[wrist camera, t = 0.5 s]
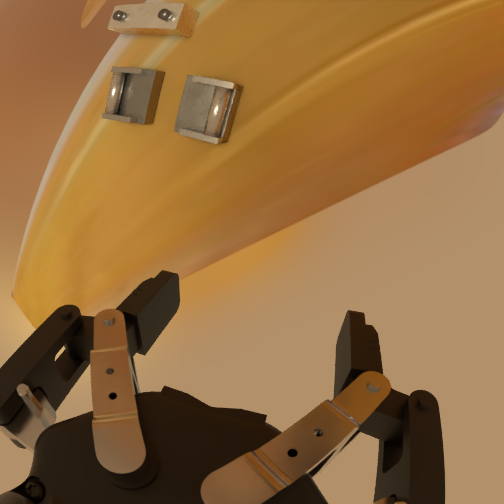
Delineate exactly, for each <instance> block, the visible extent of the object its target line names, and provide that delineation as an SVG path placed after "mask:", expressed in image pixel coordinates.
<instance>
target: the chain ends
mask: <svg viewBox="0 0 504 504" xmlns="http://www.w3.org/2000/svg"><path fill="white" fill-rule="evenodd" d="M111 72H113V75H112V79H111V84H110V88H109V93H108V98H107V103H106V109H105V113H103V114H102V118H105V119H111V120H116V121H121V122H126V123H140V124H153V122H154V117H155V112H156V108H157V104H158V99H159V95H160V91H161V87H162V83H163V79H164V75H165V72H161V71H156V70H147V69H141V68H129V67H112V71H111ZM242 88H243V86H240V85H238V84H235V83H232V82H227V81H222V80H217V79H212V78H207V77H201V76H195V75H193V76H192V75H188V76H187V80H186V83H185V87H184V91H183V95H182V99H181V103H180V107H179V111H178V115H177V119H176V124H175V128H174V131H176V132H179V133H178V134H180V135H184V136H188V137H192V138H195V139H199V140H203V141H207V142H210V143H214V144H221V143H225V142H227V141H228V138H229V134H230V130H231V127H232V123H233V120H234V116H235V112H236V109H237V106H238V102H239V99H240V95H241V92H242Z"/></svg>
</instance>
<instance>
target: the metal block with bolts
mask: <svg viewBox="0 0 504 504" xmlns="http://www.w3.org/2000/svg"><path fill="white" fill-rule="evenodd" d="M198 15H199V13H198V12H196V11H195V10H193V9H192V8H191V7H189V6H188V5H186V4H185V3H149V4H130V5H119V6H115V8H114V11H113V13H112V16H111V19H110V22H109V25H108V29H110V30H113V31H117V32H121V33H124V34H155V35H173V36H185V37H191V36H192V33H193V30H194V27H195V24H196V21H197V18H198Z"/></svg>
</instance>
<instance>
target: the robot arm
mask: <svg viewBox="0 0 504 504" xmlns="http://www.w3.org/2000/svg"><path fill="white" fill-rule="evenodd" d="M179 303H180V292H179V276H178V274H177V273H172V272H168V271H164V270H163V271H161V272H160V273H159V274H158V275H157V276H156V277H155V278H150V279H148V280H145V281H143V282H142V283H141V284H140V285H139V286H138V287H137V288H136V289H135V290H134V291H133V292H132V294H130V295H129V296H128V297H127V298H126V299H125V300H124V301H123V302H122V303H121V304H120V305H119V306H118V307H117V308H116V309H106V310H103V311H101V312H99V313H98V314H97V315H96V316H95V317H91V316H82V315H81V313H80V310H79V308H78V307H77V306H75V305H64V306H61V307H59V308H58V309H57V310H56V311H54V312H53V313H52V314H51V315H50V316H49V317H48V318H47V319H46V320H45V321H44V322H43V323H42V324H41V325H40V326H39V327H38V328H37V329H36V331H34V333H33V334H32V335H31V336H30V337H29V338H28V339H27V340H26V341H25V342H24V343H23V344H22V345H21V347H19V348H18V349H17V351H16V352H15V353H14V354H13V355H12V356H11V357H10V358H9V359H8V360H7V361H6V363H5V364H4V365H3V366H2V367H1V368H0V430H1V431H2V432H3V433H4V434H5V436H7V437H8V438H9V439H10V440H11V441H12V442H13V443H14V444H15V445H17V446H18V447H20V448H24V449H26V448H27V449H29V450H30V451H31V452H33V453H34V458H33V464H32V467H31V471H30V474H29V476H28V478H27V479H26V480H25V481H24V482H23V483H22V484H21V485H19V486H18V487H16V488H14V489H12V490H10V491H8V492H5V493H3V494H1V495H0V504H328V502H327V501H326V499H325V498H324V496H323V495H322V493H321V492H320V490H319V489H318V487H317V485H316V484H315V482H314V481H313V479H312V478H314V477H315V476H316V475H317V474H318V473H320V472H321V471H322V470H323V469H324V468H325V467H326V466H327V465H328V464H329V463H330V462H331V461H332V460H333V459H334V458H335V457H336V456H337V455H338V454H339V453H340V452H342V451H343V450H344V449H345V448H346V447H347V446H348V445H349V444H350V443H351V442H352V441H353V440H354V439H355V438H356V437H357V436H358V435H359V434H360V433H361V432H362V433H365V434H367V435H370V436H372V437H375V438H377V439H379V453H378V466H377V477H376V487H375V494H374V502H373V504H445V469H444V452H443V439H442V430H441V421H440V413H439V406H438V402H437V400H436V398H435V397H434V396H433V395H432V394H431V393H429V392H427V391H425V390H416V391H414V392H412V393H411V394H410V396H408V395H406V394H403V393H401V392H398V391H396V390H394V389H392V388H391V385H390V382H389V380H388V379H387V378H386V377H385V376H384V375H383V369H382V361H381V353H380V345H379V338H378V333H377V332H376V330H375V329H374V327H373V326H372V325H366V324H365V315H364V313H362V312H356V311H350V310H348V311H347V313H346V316H345V319H344V322H343V325H342V327H341V331H340V333H339V336H338V340H337V344H336V363H335V384H334V399H333V400H331V401H329V400H325V401H324V402H322V403H321V404H320V405H318V406H317V407H316V408H315V409H313V410H312V411H311V412H310V413H308V414H307V415H306V416H304V417H303V418H302V419H300V420H299V421H298V422H296V423H295V424H294V425H292V426H291V427H290V428H288V429H287V430H285V431H284V432H283V433H282V432H281V431H279V430H278V429H277V428H275V427H273V426H272V425H270V424H268V423H266V422H265V421H266V417H267V415H264V414H259V413H255V412H251V411H247V410H243V409H233V408H216V407H211V406H208V405H207V404H205V403H203V402H201V401H200V400H198V399H196V398H194V397H193V396H191V395H189V394H187V393H184V392H182V391H179V390H176V389H173V388H170V387H167V386H164V387H163V389H162V391H161V392H143V393H140V389H139V384H138V379H137V374H136V368H135V362H134V358H133V356H134V355H135V353H136V352H137V353H139V354H142V355H146V353H147V352H148V350H149V349H150V348H151V346H152V345H153V344H154V342H155V341H156V339H157V338H158V337H159V335H160V334H161V333H162V331H163V330H164V328H165V327H166V326H167V324H168V323H169V321H170V320H171V319H172V317H173V316H174V315H175V313H176V312H177V310H178V308H179ZM63 346H64V347H65V350H64V352H63V353H62V354H61V355H60V356H59V357H58V359H57V360H56V361H55V356H56V354H57V353H58V352H59V350H60V349H61V348H62V347H63ZM89 364H91V388H92V403H93V411H91V412H88V413H85V414H82V415H80V416H77V417H74V418H71V419H68V420H65V421H62V422H59V423H56V424H54V423H55V421H56V413H55V412H56V410H57V409H58V407H59V406H60V404H61V403H62V401H63V400H64V399H65V397H66V396H67V395H68V393H69V392H70V390H71V388H73V386H74V385H75V383H76V382H77V380H78V379H79V378H80V376H81V375H82V374H83V372H84V371H85V370H86V368H87V367H88V365H89Z"/></svg>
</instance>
